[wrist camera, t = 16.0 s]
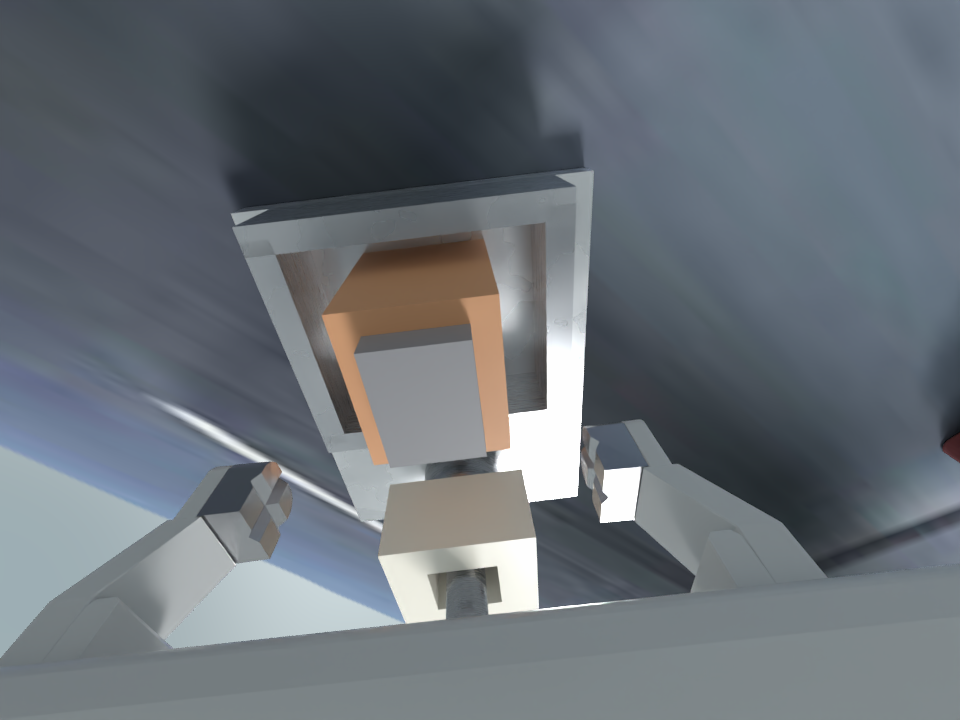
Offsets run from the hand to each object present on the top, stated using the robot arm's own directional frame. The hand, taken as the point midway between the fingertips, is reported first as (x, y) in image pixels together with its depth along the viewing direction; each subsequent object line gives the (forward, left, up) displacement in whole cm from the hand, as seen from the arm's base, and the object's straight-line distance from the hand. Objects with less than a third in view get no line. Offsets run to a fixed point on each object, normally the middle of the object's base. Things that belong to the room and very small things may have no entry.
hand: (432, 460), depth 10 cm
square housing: (-10, 0, -5) cm, 11 cm away
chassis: (-4, 0, -10) cm, 11 cm away
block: (0, 0, -9) cm, 9 cm away
